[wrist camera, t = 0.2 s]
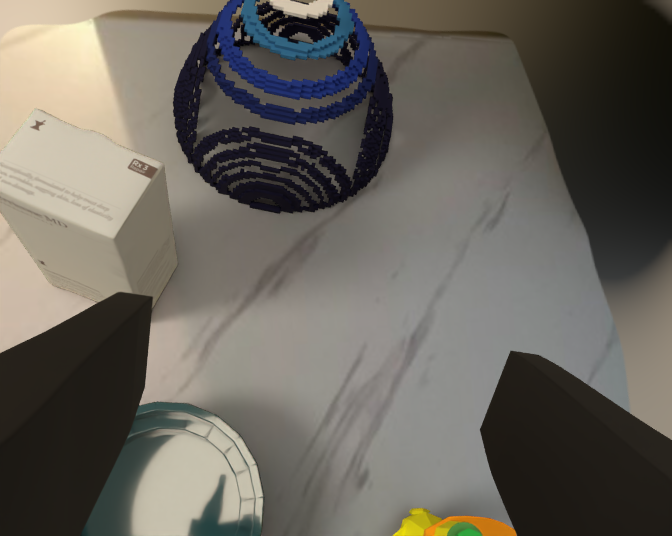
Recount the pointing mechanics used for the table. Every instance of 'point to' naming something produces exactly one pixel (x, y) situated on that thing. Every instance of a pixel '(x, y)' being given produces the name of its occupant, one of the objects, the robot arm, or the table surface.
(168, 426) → the glazed bowl
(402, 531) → the toy figure
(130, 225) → the cosmetic box
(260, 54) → the table surface
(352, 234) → the table surface
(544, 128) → the table surface
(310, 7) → the decorative bowl
